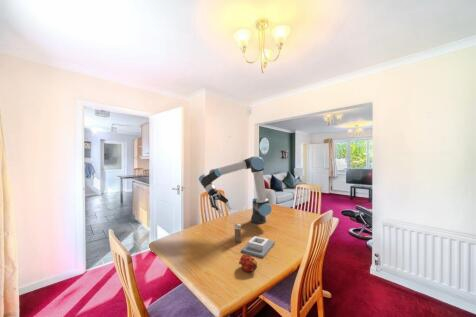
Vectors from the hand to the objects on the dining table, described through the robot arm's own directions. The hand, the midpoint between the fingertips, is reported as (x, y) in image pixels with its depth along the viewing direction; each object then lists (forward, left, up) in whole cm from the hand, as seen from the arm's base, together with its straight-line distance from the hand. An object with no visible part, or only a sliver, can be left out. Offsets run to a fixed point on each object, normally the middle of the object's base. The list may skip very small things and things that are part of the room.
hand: (225, 211), depth 147 cm
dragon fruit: (+29, +35, -21) cm, 50 cm away
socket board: (+3, +30, -21) cm, 36 cm away
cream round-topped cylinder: (+3, +13, -21) cm, 24 cm away
